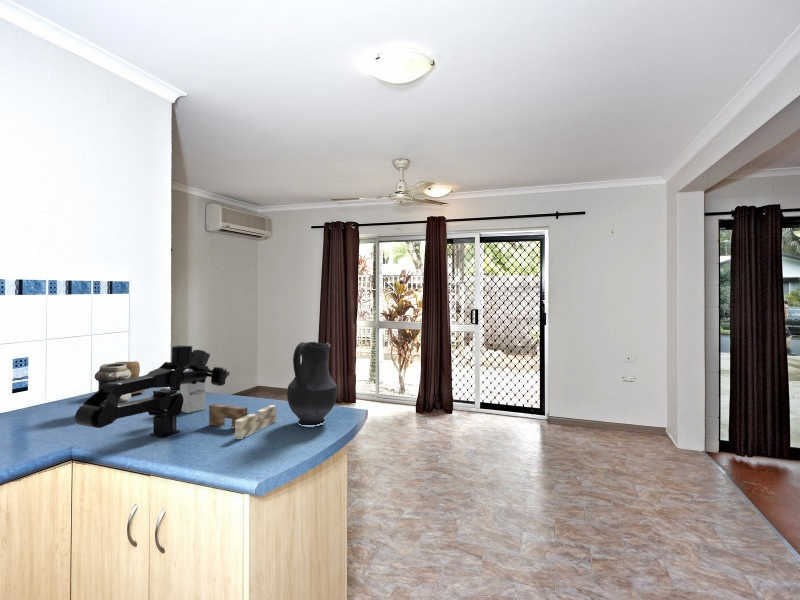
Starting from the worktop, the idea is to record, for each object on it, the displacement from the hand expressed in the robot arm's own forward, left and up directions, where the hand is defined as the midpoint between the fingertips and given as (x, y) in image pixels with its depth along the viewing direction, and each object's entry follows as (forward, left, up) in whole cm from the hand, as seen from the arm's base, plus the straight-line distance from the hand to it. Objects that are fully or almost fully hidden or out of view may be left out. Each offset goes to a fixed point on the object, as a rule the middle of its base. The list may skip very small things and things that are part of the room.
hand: (219, 371), depth 173 cm
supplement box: (+1, +13, -16) cm, 21 cm away
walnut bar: (-12, -14, -16) cm, 24 cm away
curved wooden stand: (+10, +57, -16) cm, 60 cm away
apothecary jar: (-11, +39, -16) cm, 44 cm away
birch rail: (-12, -25, -16) cm, 32 cm away
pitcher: (-1, -39, -16) cm, 42 cm away
